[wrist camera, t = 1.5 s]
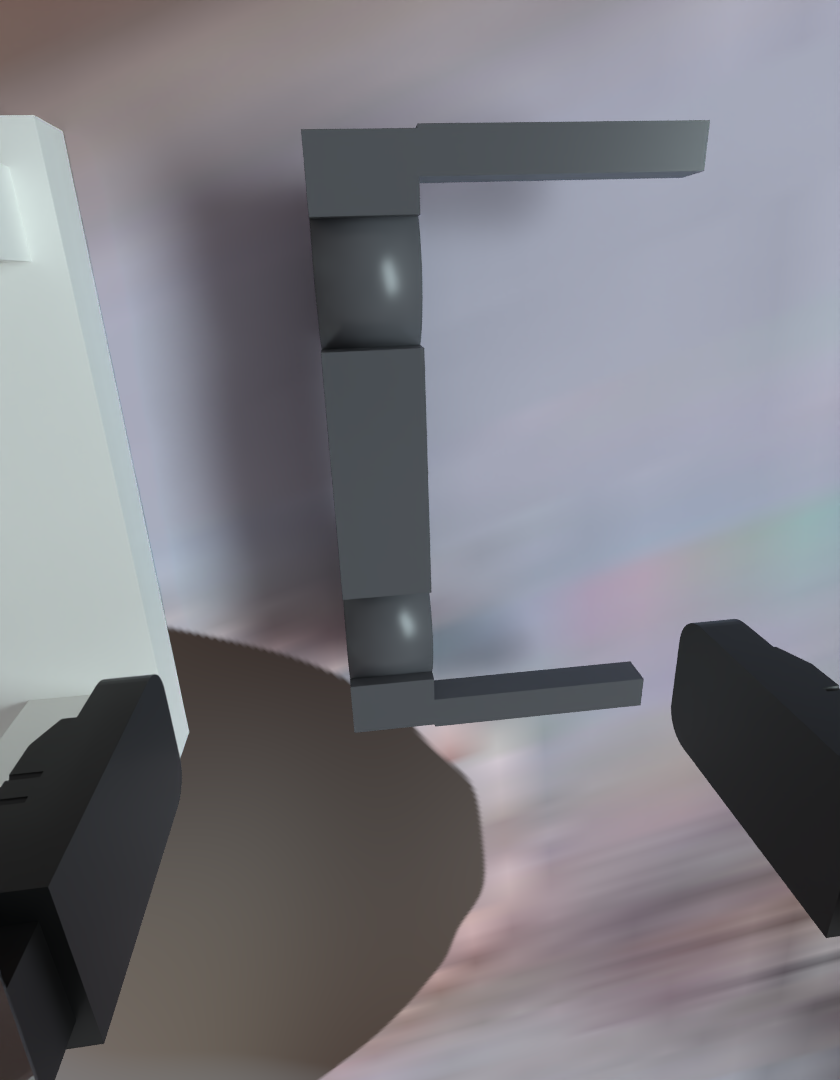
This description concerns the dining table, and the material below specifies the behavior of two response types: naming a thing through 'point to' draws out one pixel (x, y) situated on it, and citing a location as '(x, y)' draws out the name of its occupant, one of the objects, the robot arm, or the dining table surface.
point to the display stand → (63, 467)
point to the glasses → (399, 390)
